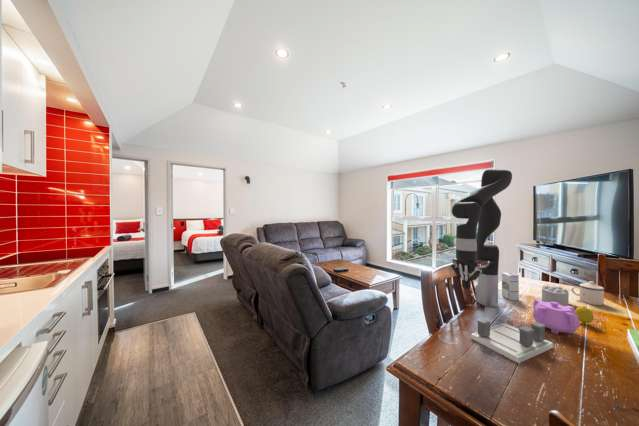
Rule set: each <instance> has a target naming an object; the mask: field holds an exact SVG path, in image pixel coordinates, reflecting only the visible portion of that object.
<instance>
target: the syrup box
mask: <svg viewBox="0 0 639 426" xmlns="http://www.w3.org/2000/svg"><path fill="white" fill-rule="evenodd" d="M519 279H520V278H519V274H515V273H512V272H502V273H501V296H502V297H503V298H505V299H508V300H509V301H512V300H513V301H518V300H520V290H519V288H520V287H519V285H520V282H519V281H520V280H519Z"/></svg>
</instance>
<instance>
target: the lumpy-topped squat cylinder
mask: <svg viewBox="0 0 639 426" xmlns="http://www.w3.org/2000/svg"><path fill="white" fill-rule="evenodd" d="M569 297H570V295H569V291H568V290H567V288H563V287H561V286H558V285H557V286H556V285H550V284H548V285H542V287H541V301H542V302H557V303H559V305H562V306H570V305H569V303H570V301H569Z"/></svg>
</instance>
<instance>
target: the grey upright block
mask: <svg viewBox="0 0 639 426" xmlns="http://www.w3.org/2000/svg"><path fill="white" fill-rule="evenodd" d="M476 322H477V332H478V335H480V336H482V337H487V336H490V328H491V324H492V322H491V320H489V319H486V318H484V317H482V318H480V319H477V320H476Z"/></svg>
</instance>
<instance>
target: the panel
mask: <svg viewBox="0 0 639 426" xmlns="http://www.w3.org/2000/svg"><path fill="white" fill-rule="evenodd" d="M470 338H472V339H471V340H473V341H475V342H477V343H479V344H481V345H483V346H484V345H485V346H484V347H486V348H488V349H491V350H492V351H493V352H496V353H497V354H500V355H502V356H503V355H504V357H506V358H507V359H509V360H511V361H513V362H515V363H517V364H521V363H522V362H525V361H527V360H530V359H531V358H533V357H536V356H538V355H541V354H542V353H546V352H547V351H549V350H552V349H553V348H554V343H553V341H549V340H547V339H545V340H543V341H541V342H538V341H536V340H534V339H533V345H531V346H529V347H526V346H524V345H522V344H520V330H519V327H518V328H517V327H516V326H513V325H510V324H507V323H505V322H503V323H501V324H498V325H494V326H490V336H487V337H482V336H480V335H478V331H475V332H473V333H471V337H470Z"/></svg>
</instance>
